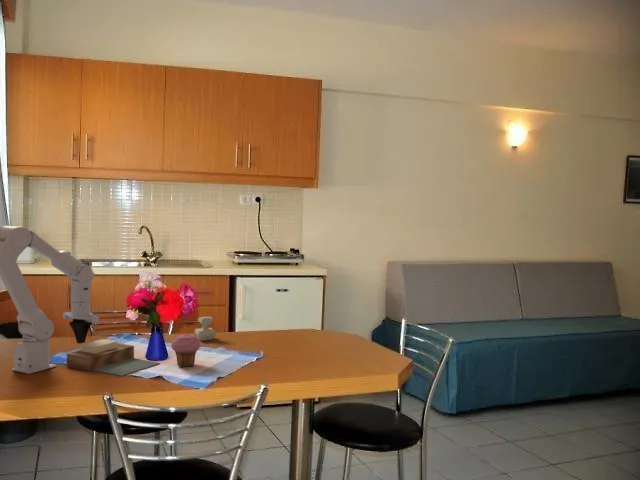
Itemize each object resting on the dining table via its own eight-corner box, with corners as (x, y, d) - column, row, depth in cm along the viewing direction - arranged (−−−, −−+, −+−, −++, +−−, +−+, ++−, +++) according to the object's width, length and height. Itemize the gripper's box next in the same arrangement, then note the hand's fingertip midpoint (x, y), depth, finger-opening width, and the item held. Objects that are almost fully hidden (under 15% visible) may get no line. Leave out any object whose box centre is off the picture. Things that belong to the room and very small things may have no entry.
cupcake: (171, 369, 182) (172, 337, 181) (170, 362, 190) (170, 331, 190) (201, 368, 184) (201, 336, 184) (199, 361, 193) (199, 330, 192)
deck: (89, 371, 179) (89, 358, 179) (66, 366, 183) (66, 353, 183) (134, 357, 195) (134, 345, 195) (111, 353, 199) (111, 342, 199)
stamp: (193, 337, 225) (193, 315, 225) (210, 336, 228) (210, 314, 228) (199, 343, 217) (199, 320, 217) (217, 341, 220) (217, 319, 219)
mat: (121, 376, 174) (121, 375, 174) (92, 370, 180) (92, 369, 180) (159, 363, 188) (159, 362, 188) (131, 358, 194) (131, 357, 194)
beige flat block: (94, 353, 184) (94, 347, 184) (80, 350, 187) (80, 344, 187) (116, 347, 192) (116, 341, 192) (103, 345, 195) (103, 339, 195)
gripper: (106, 301, 192) (106, 343, 193) (75, 297, 199) (75, 337, 200) (89, 304, 186) (89, 347, 187) (57, 300, 193) (57, 341, 194)
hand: (81, 342), depth 193 cm, fingers closed
